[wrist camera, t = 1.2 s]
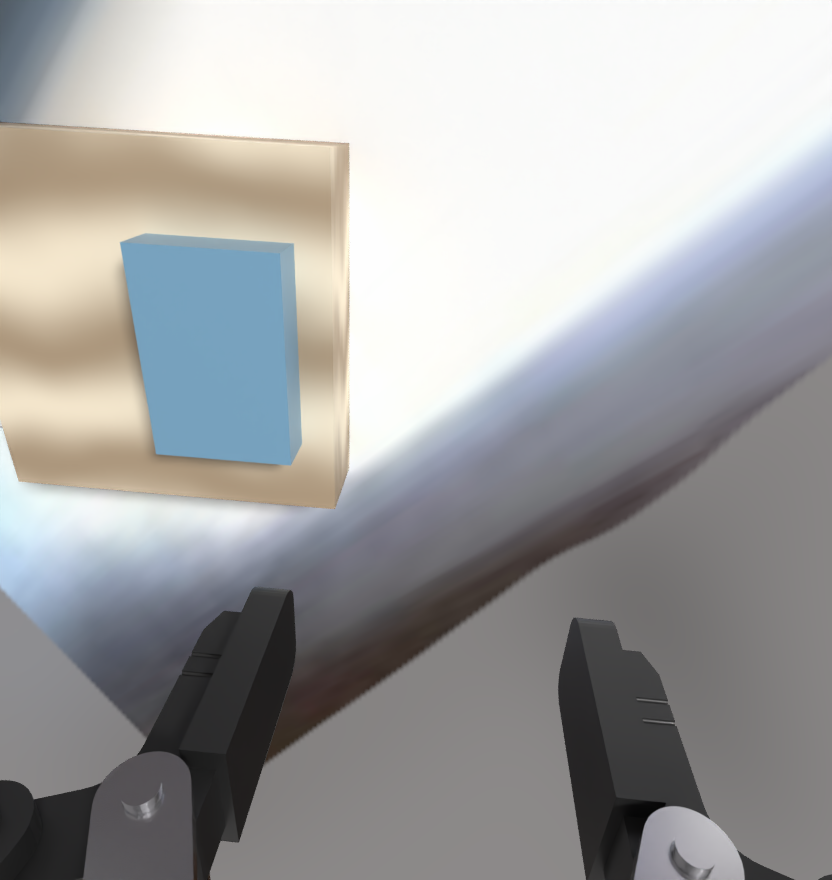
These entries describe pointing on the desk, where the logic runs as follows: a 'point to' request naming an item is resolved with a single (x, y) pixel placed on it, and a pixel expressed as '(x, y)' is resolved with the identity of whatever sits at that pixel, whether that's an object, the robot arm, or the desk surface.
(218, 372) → the blue flat block
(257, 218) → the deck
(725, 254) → the desk surface
